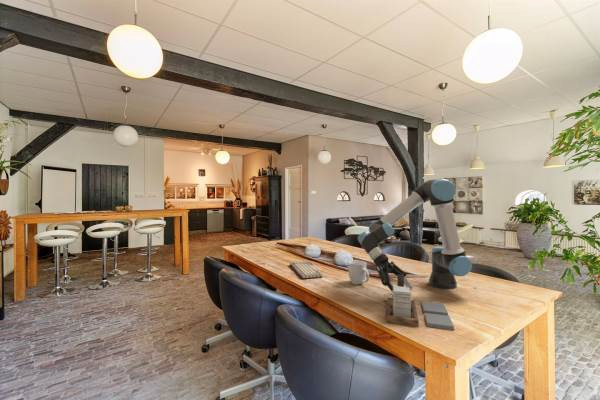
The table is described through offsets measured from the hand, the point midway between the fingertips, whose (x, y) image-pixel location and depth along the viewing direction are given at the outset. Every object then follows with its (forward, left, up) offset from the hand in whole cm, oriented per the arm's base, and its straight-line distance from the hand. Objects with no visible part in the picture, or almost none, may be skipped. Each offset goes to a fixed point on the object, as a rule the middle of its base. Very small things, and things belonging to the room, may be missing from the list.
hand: (405, 292), depth 136 cm
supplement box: (+2, +13, -7) cm, 15 cm away
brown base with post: (+2, +8, -7) cm, 10 cm away
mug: (+26, -26, -7) cm, 37 cm away
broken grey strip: (-13, +8, -7) cm, 17 cm away
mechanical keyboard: (+65, -42, -7) cm, 78 cm away
